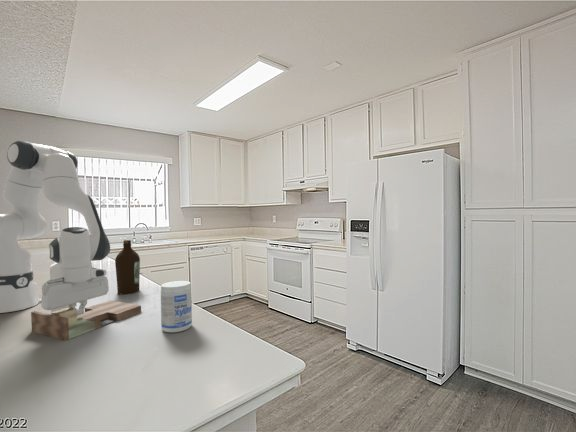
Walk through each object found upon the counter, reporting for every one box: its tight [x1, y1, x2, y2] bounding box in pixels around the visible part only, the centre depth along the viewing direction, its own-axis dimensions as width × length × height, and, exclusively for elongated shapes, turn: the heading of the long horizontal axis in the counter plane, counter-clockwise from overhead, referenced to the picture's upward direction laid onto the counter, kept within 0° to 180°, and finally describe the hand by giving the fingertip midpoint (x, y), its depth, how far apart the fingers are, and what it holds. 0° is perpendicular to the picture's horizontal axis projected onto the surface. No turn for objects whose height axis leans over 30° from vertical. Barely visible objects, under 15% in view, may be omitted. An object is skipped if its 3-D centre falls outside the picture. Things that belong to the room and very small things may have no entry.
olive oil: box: [114, 239, 141, 295], centre depth 145 cm, size 11×11×25 cm
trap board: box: [30, 300, 142, 341], centre depth 107 cm, size 18×27×6 cm, turn 156°
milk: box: [49, 262, 69, 313], centre depth 114 cm, size 6×6×22 cm
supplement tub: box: [160, 280, 193, 334], centre depth 99 cm, size 10×10×15 cm
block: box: [50, 308, 78, 324], centre depth 98 cm, size 5×5×4 cm
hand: (78, 314), depth 103 cm, fingers closed
